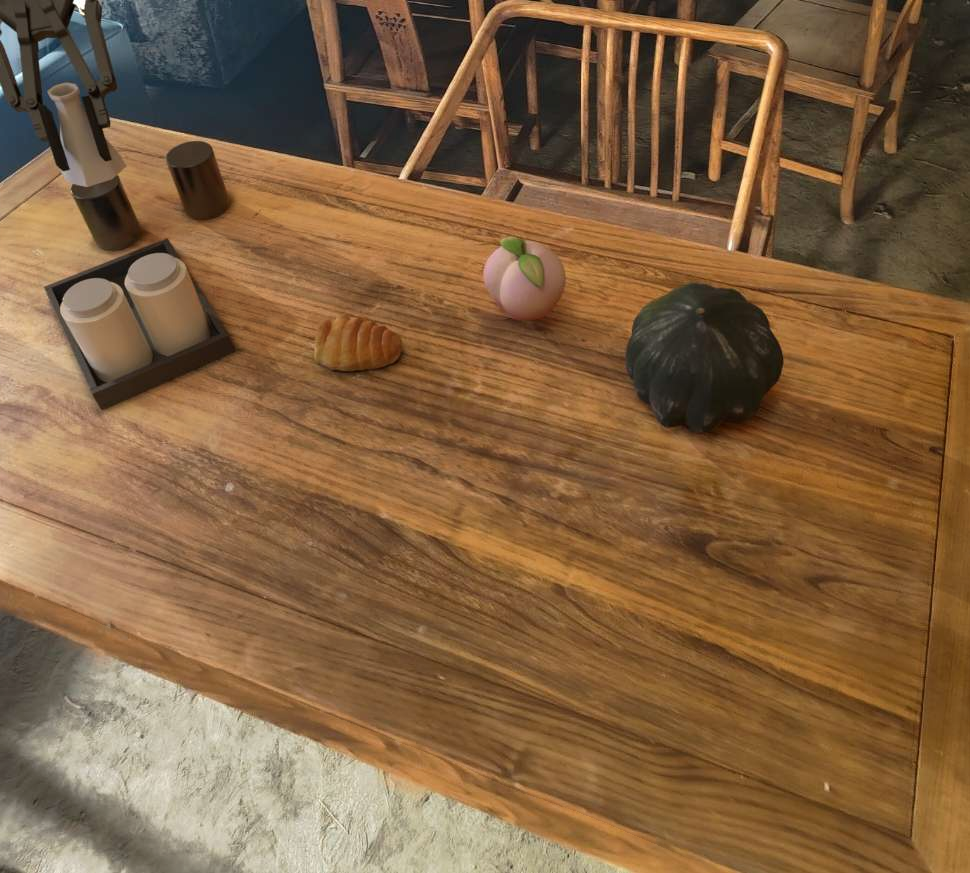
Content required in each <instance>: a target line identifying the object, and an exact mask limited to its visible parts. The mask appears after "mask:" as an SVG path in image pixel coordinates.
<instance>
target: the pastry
mask: <svg viewBox="0 0 970 873" xmlns="http://www.w3.org/2000/svg"><path fill="white" fill-rule="evenodd" d="M315 335H316V336H315V339H314V347H313V348H314V350H313V352H314V356H313V358H314V361H315V362H316V363H318V364H320V365H321V366H324V367H326V368H327V369H329V370H331V371H334V370H337V371H341V372H354V371H364V370H365V371H366V370H369V371H370V370H376V369H380V368H384V367H386V366H388V365H392V364H394V363H395V362H397V360H398V359H399V358H400V356H401V353H402V342H403V341H402V338H401V337H400V336H399V335H398V333H396V332H394V331H393V330H390V329H389V328H388V327H387V326H386V325H380V324H378V323H376V322H375V321H374V320H366V319H364V318H362V317H359V316H355V317H353V318H350V316H348V315H343V314H342V315H339V316H338V317H337V318H336V319H330V318H327V317H325V318H324V319H322V320H321V322H319V325H318V327H317V329H316V334H315Z"/></svg>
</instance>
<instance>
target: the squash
mask: <svg viewBox="0 0 970 873" xmlns="http://www.w3.org/2000/svg"><path fill="white" fill-rule="evenodd" d="M784 361H785V360H784V353H783V349H782V347H781V344H780V342H779V341H778V338H777V337H776V335H775V334H774V333H773V331H772V329H771V324H770V321H769V318H768V317H767V315H766V313H765V311H763V309H762V308H760V307H758V305H756V304H754V303H752V302H749V301H748V300H747V298H746V297H745V296H744V295H743V294H742V293H741V291H739V290H736V289H734V288H729V287H728V288H724V287H714V286H712V285H710V284H706V283H699V282H687V283H683V284H682V285H680V286H678V287H675V288H673V289H671V290H670V291H669V292H668V293H667V294H664V295H661V296H659V297H657V298H655V299H653V300H651V301H648V302H647V303H646V304H645V305H643V307H642V308H641V309H640V310H639V312H638V313H637V315H636V316H635V317H634V320H633V323H632V327H631V335H630V337H629V338H628V342H627V344H626V348H625V355H624V363H625V364H624V365H625V371H626V373H627V375H628V377H629V378H630V380H631V381H633V382H632V383H633V389H634V391H635V394H636V397H637V398H638V399H639V401H641V402H643V403H644V404H646V405H650V406H651V410H652V411H653V413H654V416H655V419H656V420H657V422H658V423H659V424H660V425H661V426H662V427H664V428H668V429H670V428H675V427H676V428H677V427H679V426H682V425H683V424H685V425H686V426H687V428H689V429H690V430H691V431H692V432H693V433H695V434H699V435H701V434H702V435H703V434H707V433H710V432H712V431H714V430H715V429H716V428H717V427H720V425H721V424H722V423H727V424H732V425H733V424H740V423H743V422H746V421H748V420H750V419H752V418H753V417H754V416H755V415H757V413H758V411H759V410H760V408H761V405H762V402H763V399H764V397H765V395H767V393H768V392H770V390H771V389H773V387H775V386H776V384H777V383H778V381H779V379H780V377H781V374H782V371H783V367H784Z"/></svg>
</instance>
